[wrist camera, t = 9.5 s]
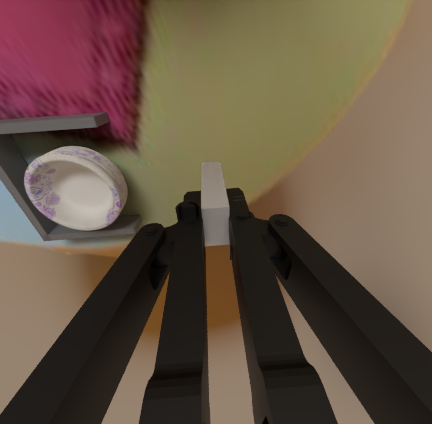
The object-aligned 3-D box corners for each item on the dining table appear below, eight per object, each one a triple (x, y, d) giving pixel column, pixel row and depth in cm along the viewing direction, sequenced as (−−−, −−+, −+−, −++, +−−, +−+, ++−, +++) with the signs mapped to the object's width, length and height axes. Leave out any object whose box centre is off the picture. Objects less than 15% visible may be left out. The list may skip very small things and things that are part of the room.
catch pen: (-8, 120, 34) (-38, 125, 30) (106, 112, 35) (93, 116, 30) (58, 226, 47) (44, 241, 43) (141, 220, 47) (135, 233, 43)
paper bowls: (140, 207, 45) (130, 229, 39) (72, 212, 45) (50, 234, 38) (120, 138, 37) (102, 151, 30) (36, 142, 37) (0, 156, 30)
